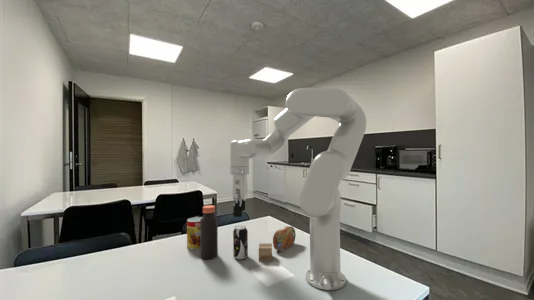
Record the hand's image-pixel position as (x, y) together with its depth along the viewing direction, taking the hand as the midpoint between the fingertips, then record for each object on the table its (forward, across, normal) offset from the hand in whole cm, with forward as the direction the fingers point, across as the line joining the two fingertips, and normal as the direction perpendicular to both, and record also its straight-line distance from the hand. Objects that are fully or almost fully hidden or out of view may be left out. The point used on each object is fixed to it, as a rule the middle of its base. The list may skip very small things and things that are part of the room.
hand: (239, 213), depth 94 cm
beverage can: (+18, 0, -1) cm, 18 cm away
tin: (+18, +10, -19) cm, 27 cm away
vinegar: (+18, +1, +12) cm, 22 cm away
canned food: (+18, +12, +21) cm, 30 cm away
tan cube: (+17, -1, -11) cm, 20 cm away
